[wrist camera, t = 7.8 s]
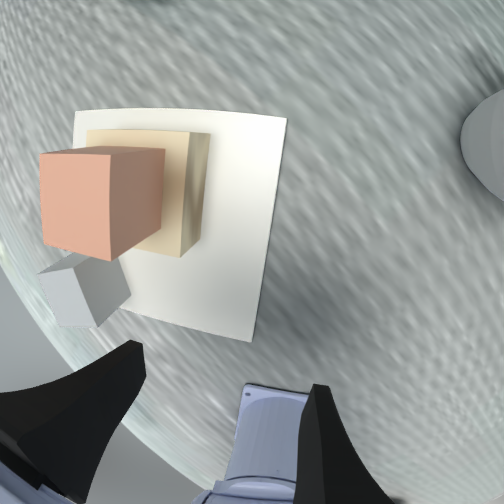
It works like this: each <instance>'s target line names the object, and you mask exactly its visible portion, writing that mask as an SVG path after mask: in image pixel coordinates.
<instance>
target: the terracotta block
mask: <svg viewBox="0 0 504 504" xmlns="http://www.w3.org/2000/svg"><path fill="white" fill-rule="evenodd" d="M164 161H165V149H163V148H148V147H127V146H93V147H84V148H76V149H68V150H61V151H54V152H48V153H42V154H40V202H41V217H42V229H43V239H44V244H46V245H50V246H53V247H57V248H61V249H64V250H68V251H72V252H75V253H79V254H83V255H87V256H91V257H95V258H98V259H102V260H106V261H110V262H111V261H113V260H114V259H116V258H117V257H119V256H120V255H122V254H123V253H125V252H126V251H128V250H129V249H131V248H132V247H134V246H135V245H137V244H138V243H140V242H141V241H143V240H144V239H146V238H147V237H149V236H150V235H152V234H153V233H155V232H157V231H158V230H160V229H161V210H162V190H163V175H164Z"/></svg>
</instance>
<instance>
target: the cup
mask: <svg viewBox="0 0 504 504" xmlns="http://www.w3.org/2000/svg"><path fill="white" fill-rule="evenodd" d="M460 143H461V150H462V154H463V157H464V160H465V162H466V164H467V166H468V167H469V169H470V170H471V171H472V173H473V174H474V175H475V176H476V177H477V178H478V179H479V180H480V181H481V183H482V184H483V185H484V186H485V187H486V188H487V189H488V190H489V191H490V192H491V193H493V194H494V195H495V196H497V197H498V198H499V199H501V200H502V201H503V202H504V89H502V90H500V91H499V92H497V93H495V94H493V95H492V96H490V97H488V98H486V99H485V100H483V101H482V102H481V103H480V104H479V105H478V106H477V107H476V108H475V109H474V110H473V112H472V113H471V114H470V115H469V116H468V117H467V118H466V120H465V121H464V124H463V126H462V130H461V136H460Z"/></svg>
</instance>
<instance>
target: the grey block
mask: <svg viewBox="0 0 504 504" xmlns="http://www.w3.org/2000/svg"><path fill="white" fill-rule="evenodd" d="M37 276H38V279H39V281H40V284H41V286H42V289H43V291H44V293H45V296H46V298H47V301H48V303H49V305H50V307H51V310H52V312H53V314H54V316H55V318H56V320H57V323H58V325H59V327H73V328H98V327H99V326H100V325H101V324H102V323H103V322H104V321H105V320H106V319H107V318H108V317H109V316H110V315H111V314H112V313H113V312H114V311H115V310H116V309H118V308H119V307H120V306H121V305H122V304H123V303H124V302H125V301H126V300H127V299H128V298H129V297H130V296H131V292H130V290H129V287H128V284H127V281H126V279H125V276H124V273H123V270H122V267H121V265H120V262H119V259H118V257H117V258H116V259H114V260H113V261H111V262H110V261H106V260H102V259H98V258H95V257H91V256H87V255H83V254H79V253H75V252H74V253H72V254H70V255H69V256H67V257H65V258H63V259H62V260H60V261H58V262H57V263H55V264H53V265H52V266H50V267H48V268H47V269H45V270H43V271H42V272H40V273H38V274H37Z"/></svg>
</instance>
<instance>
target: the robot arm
mask: <svg viewBox="0 0 504 504" xmlns="http://www.w3.org/2000/svg"><path fill="white" fill-rule="evenodd" d="M145 378H146V369H145V361H144V353H143V344H142V343H139V342H136V341H133V340H129V341H127V342H125V343H124V344H122V345H121V346H119V347H117V348H116V349H114V350H113V351H111V352H109V353H108V354H106V355H104V356H103V357H101V358H99V359H98V360H96V361H94V362H93V363H91V364H89V365H87V366H85V367H83V368H82V369H80V370H78V371H76V372H74V373H72V374H70V375H67V376H65V377H63V378H60V379H58V380H55V381H53V382H50V383H46V384H43V385H40V386H36V387H33V388H29V389H24V390H19V391H13V392H4V393H0V504H74V503H72V502H70V501H69V500H67V499H65V498H64V497H66V498H68V499H70V500H71V501H73V502H75V503H77V504H84V503H86V499H87V496H88V493H89V489H90V486H91V483H92V480H93V477H94V475H95V472H96V469H97V467H98V464H99V462H100V460H101V457H102V455H103V453H104V451H105V448H106V446H107V444H108V442H109V440H110V438H111V436H112V434H113V433H114V431H115V429H116V427H117V426H118V425H119V423H120V422H121V420H122V418H123V417H124V415H125V414H126V412H127V411H128V409H129V408H130V406H131V405H132V403H133V402H134V400H135V398H136V397H137V395H138V393H139V391H140V389H141V387H142V385H143V383H144V381H145ZM234 440H235V444H234V447H233V451H232V454H231V458H230V461H229V464H228V468H227V471H226V475H225V478H224V481H218V480H217V481H216V482H215V485H214V488H213V490H205V491H203V492H202V493H201V494H199V495H198V496H197V497H195V499H194V500H193V501H192V502H191V504H395V503H394V502H393V501H392V500H391V499H390V498H389V497H388V496H387V495H386V494H385V493H384V491H383V490H382V489H381V488H380V486H379V485H378V484H377V483H376V481H375V480H374V479H373V478H372V476H371V475H370V473H369V472H368V470H367V469H366V467H365V466H364V464H363V463H362V461H361V460H360V458H359V456H358V454H357V453H356V451H355V449H354V447H353V445H352V443H351V441H350V439H349V437H348V435H347V433H346V431H345V428H344V426H343V424H342V421H341V419H340V416H339V414H338V411H337V408H336V406H335V403H334V400H333V397H332V394H331V390H330V388H329V386H326V385H319V384H313V386H312V389H311V391H310V394H309V395H304V394H298V393H292V392H286V391H280V390H275V389H270V388H265V387H260V386H255V385H250V384H247V385H245V386H244V388H243V393H242V399H241V404H240V410H239V415H238V421H237V426H236V432H235V437H234ZM59 494H60V495H62V496H64V497H62V496H60V495H59Z"/></svg>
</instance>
